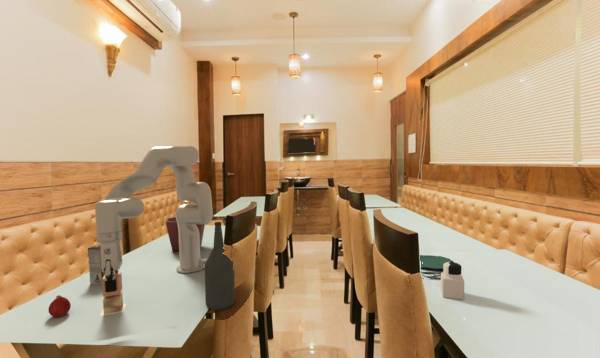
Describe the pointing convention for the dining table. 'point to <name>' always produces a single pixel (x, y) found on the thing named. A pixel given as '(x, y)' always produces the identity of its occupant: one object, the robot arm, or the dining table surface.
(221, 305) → the bottle
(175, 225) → the bucket
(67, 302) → the onion
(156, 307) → the dining table surface
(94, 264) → the coffee box
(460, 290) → the medicine bottle
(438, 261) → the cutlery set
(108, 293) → the terracotta block
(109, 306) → the pale oak block
